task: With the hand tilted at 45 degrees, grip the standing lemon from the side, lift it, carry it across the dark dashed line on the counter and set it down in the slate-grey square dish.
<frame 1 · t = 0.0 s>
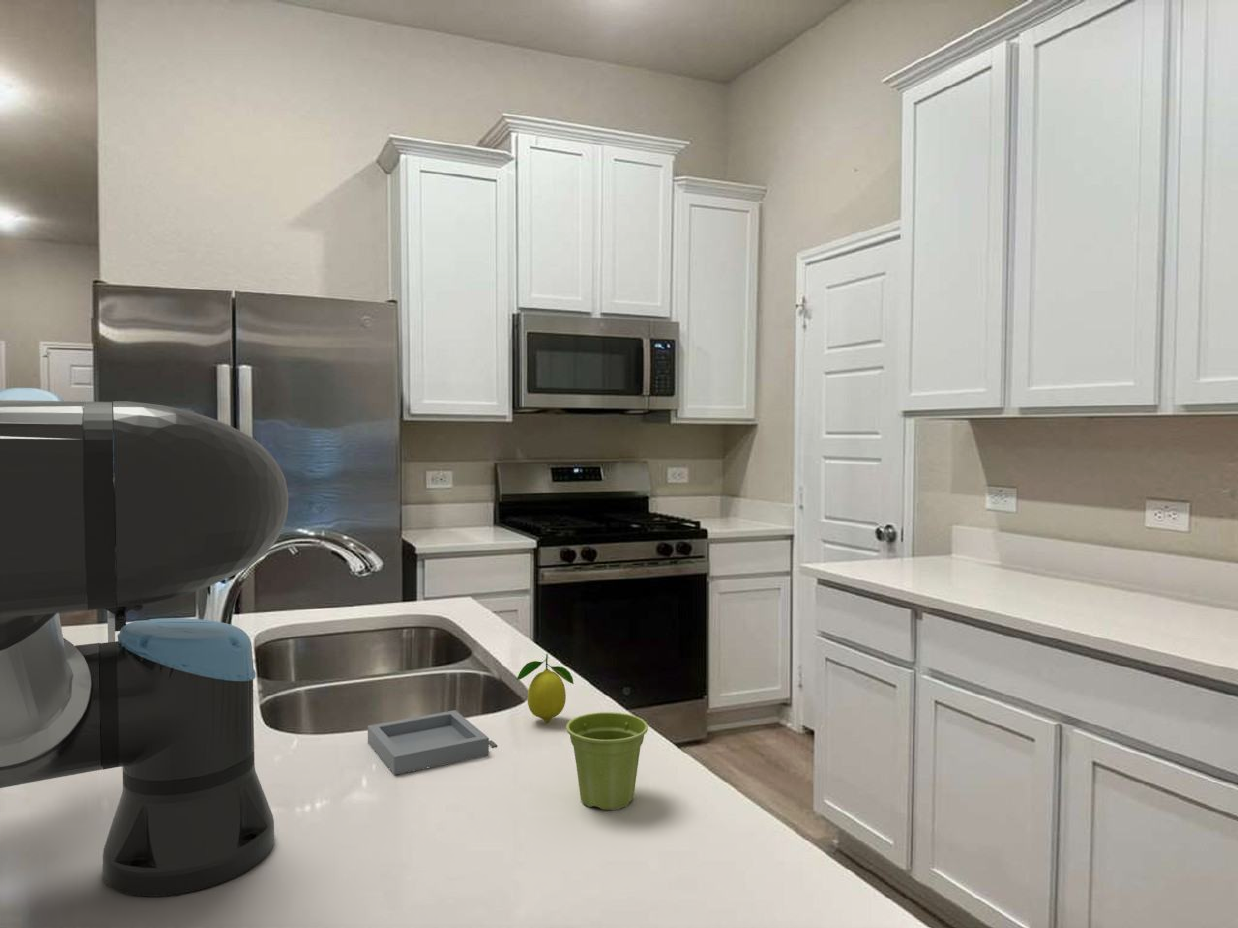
hand: (45, 653, 100), 15 cm above the table, tool tilted 35°, fingers open, 13 cm apart
plant pot: (606, 800, 96), on the table
perforation strip: (482, 736, 116), on the table
lemon: (545, 723, 121), on the table
dish: (427, 748, 111), on the table
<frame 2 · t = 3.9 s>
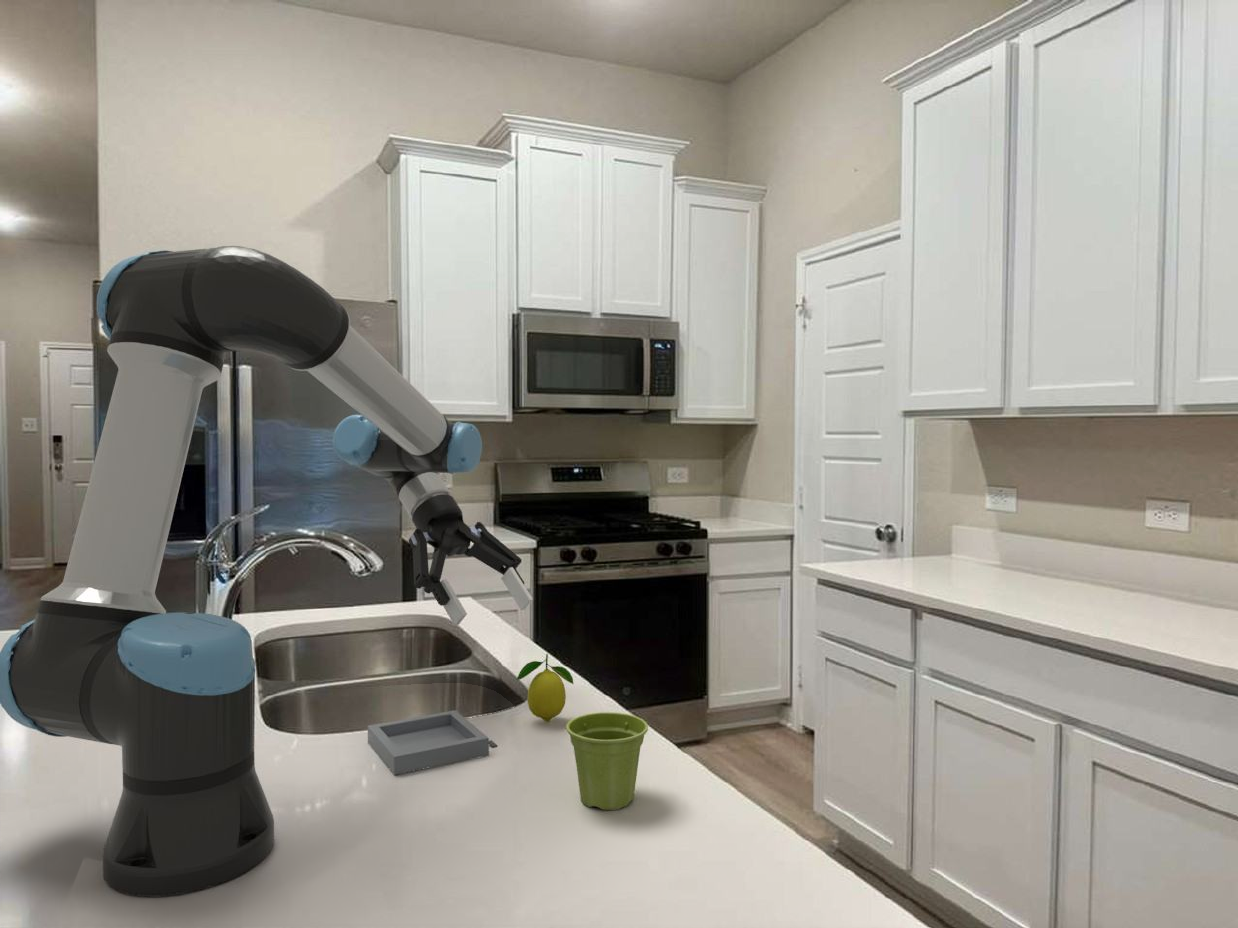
hand: (495, 612, 127), 15 cm above the table, tool tilted 45°, fingers open, 13 cm apart
nothing on the table moved.
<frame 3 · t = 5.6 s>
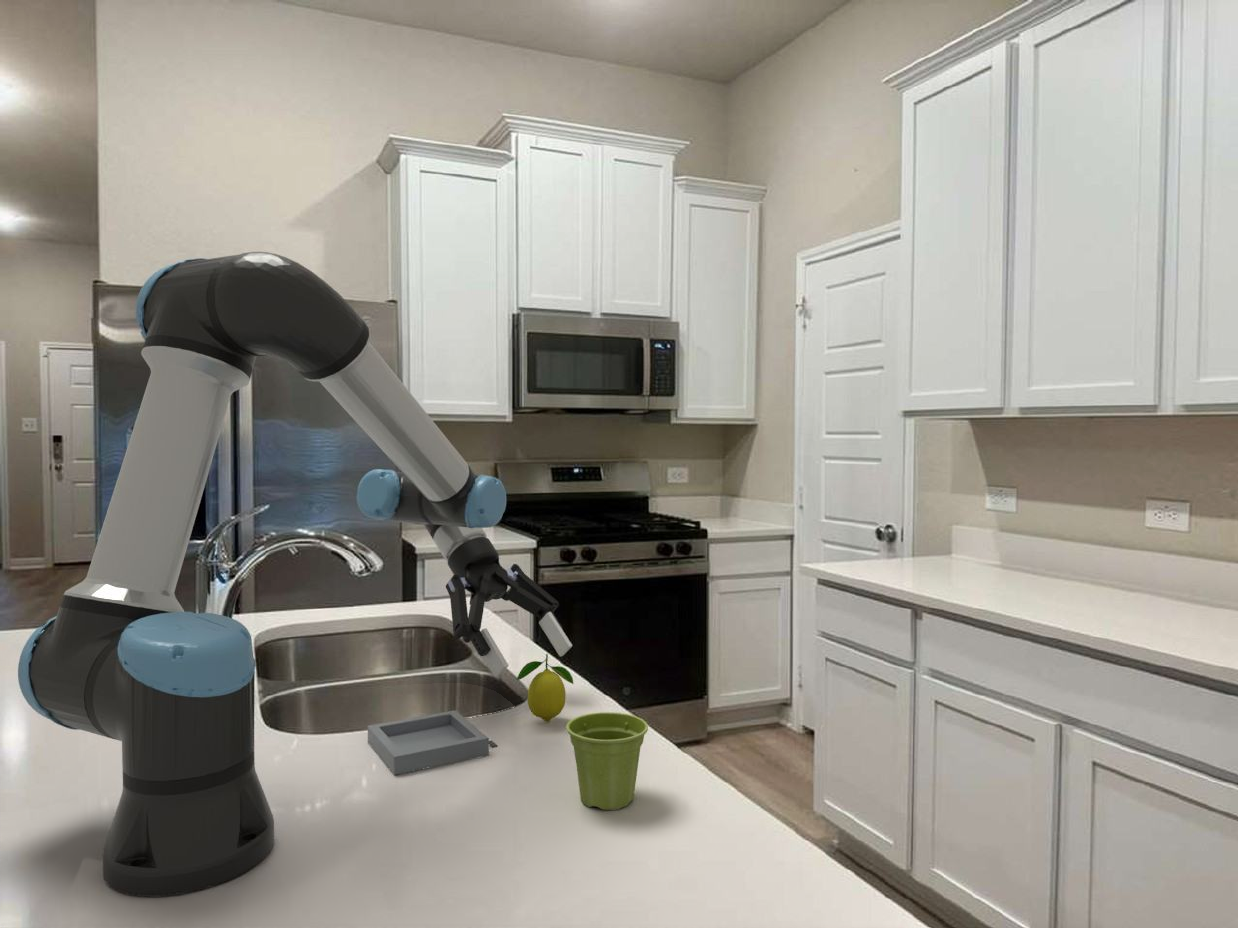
hand: (535, 661, 124), 8 cm above the table, tool tilted 45°, fingers open, 13 cm apart
nothing on the table moved.
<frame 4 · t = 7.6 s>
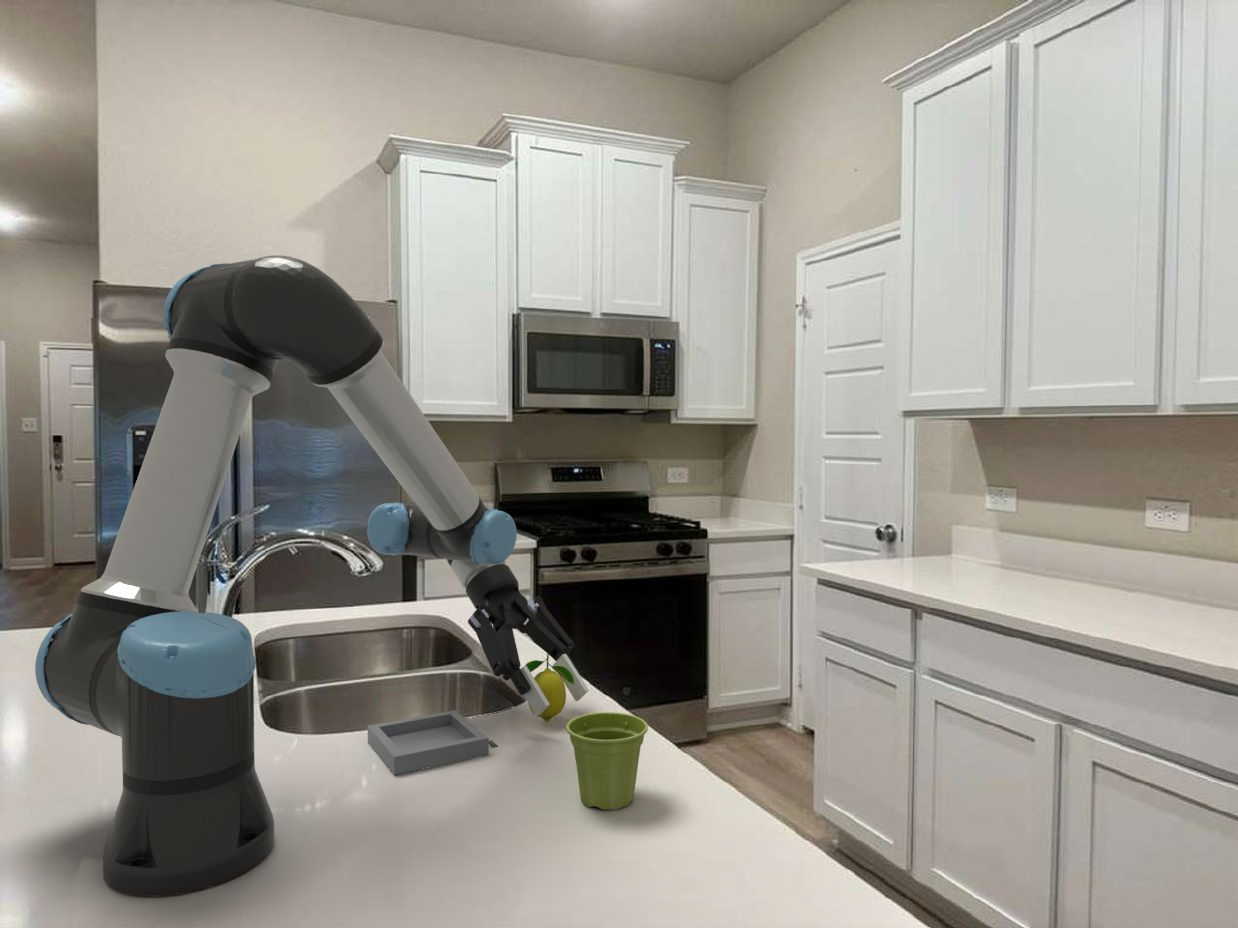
hand: (563, 702, 119), 4 cm above the table, tool tilted 45°, fingers closed on lemon, 8 cm apart
lemon: (545, 723, 121), on the table, touching gripper
everything else where it was.
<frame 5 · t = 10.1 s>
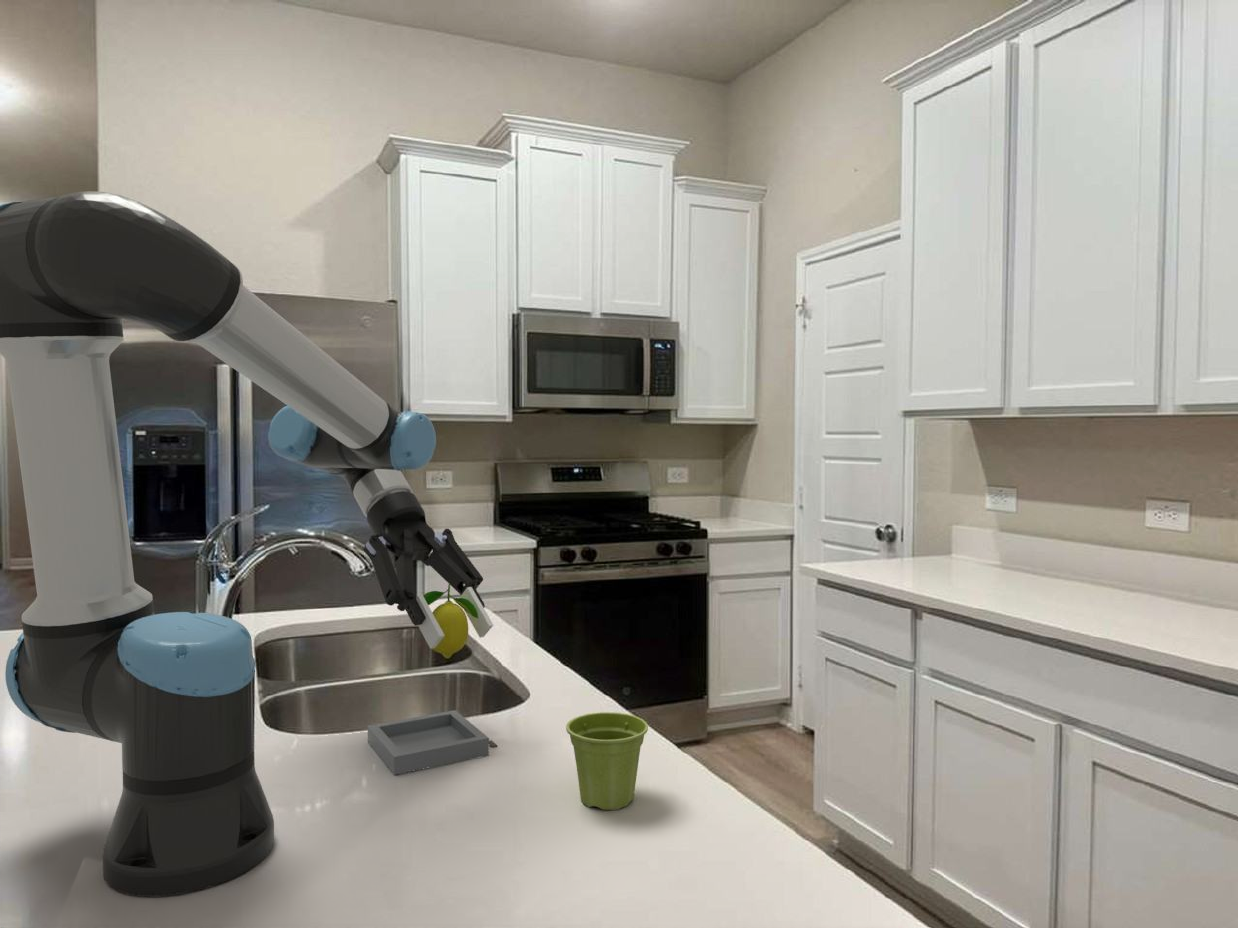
hand: (462, 636, 110), 15 cm above the table, tool tilted 45°, fingers closed on lemon, 8 cm apart
lemon: (445, 659, 112), point 11 cm above the table, touching gripper
everything else where it was.
when the fingers open (5 cm above the table, at t = 12.8 s): lemon stays where it is, resting on dish.
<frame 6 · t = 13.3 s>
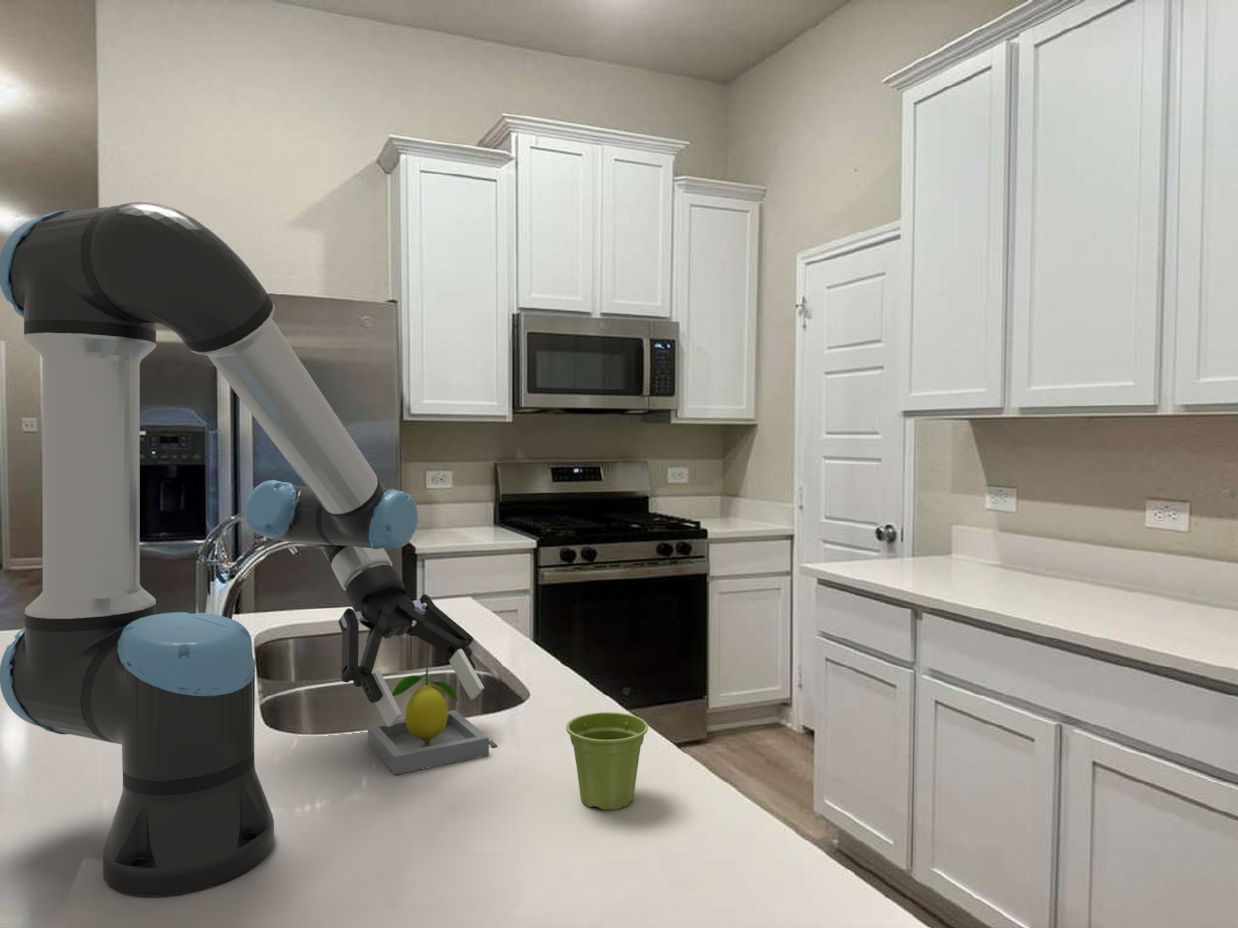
hand: (438, 706, 109), 6 cm above the table, tool tilted 45°, fingers open, 13 cm apart
lemon: (425, 744, 111), point 1 cm above the table, touching dish
everything else where it was.
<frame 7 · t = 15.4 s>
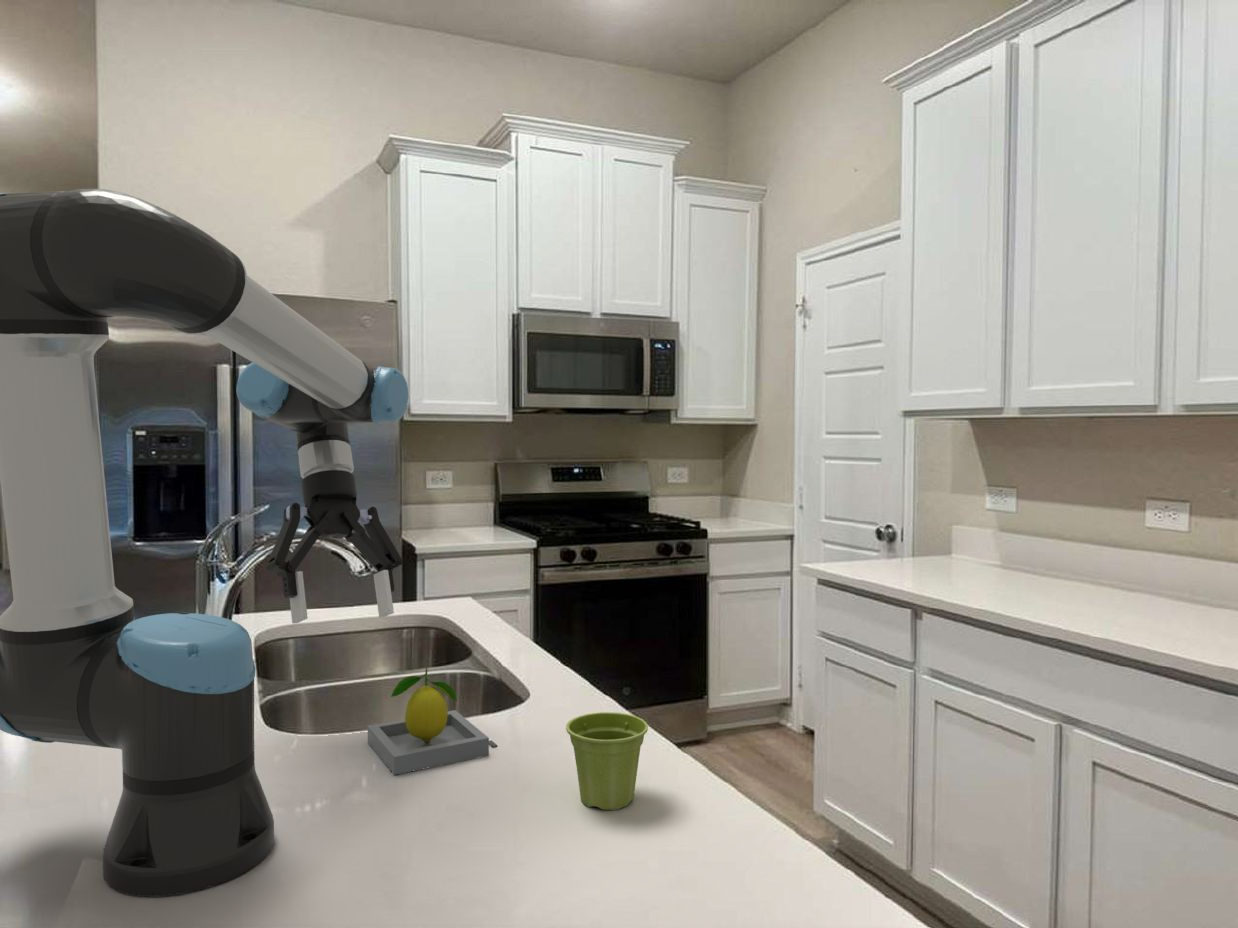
hand: (345, 618, 118), 16 cm above the table, tool tilted 25°, fingers open, 13 cm apart
nothing on the table moved.
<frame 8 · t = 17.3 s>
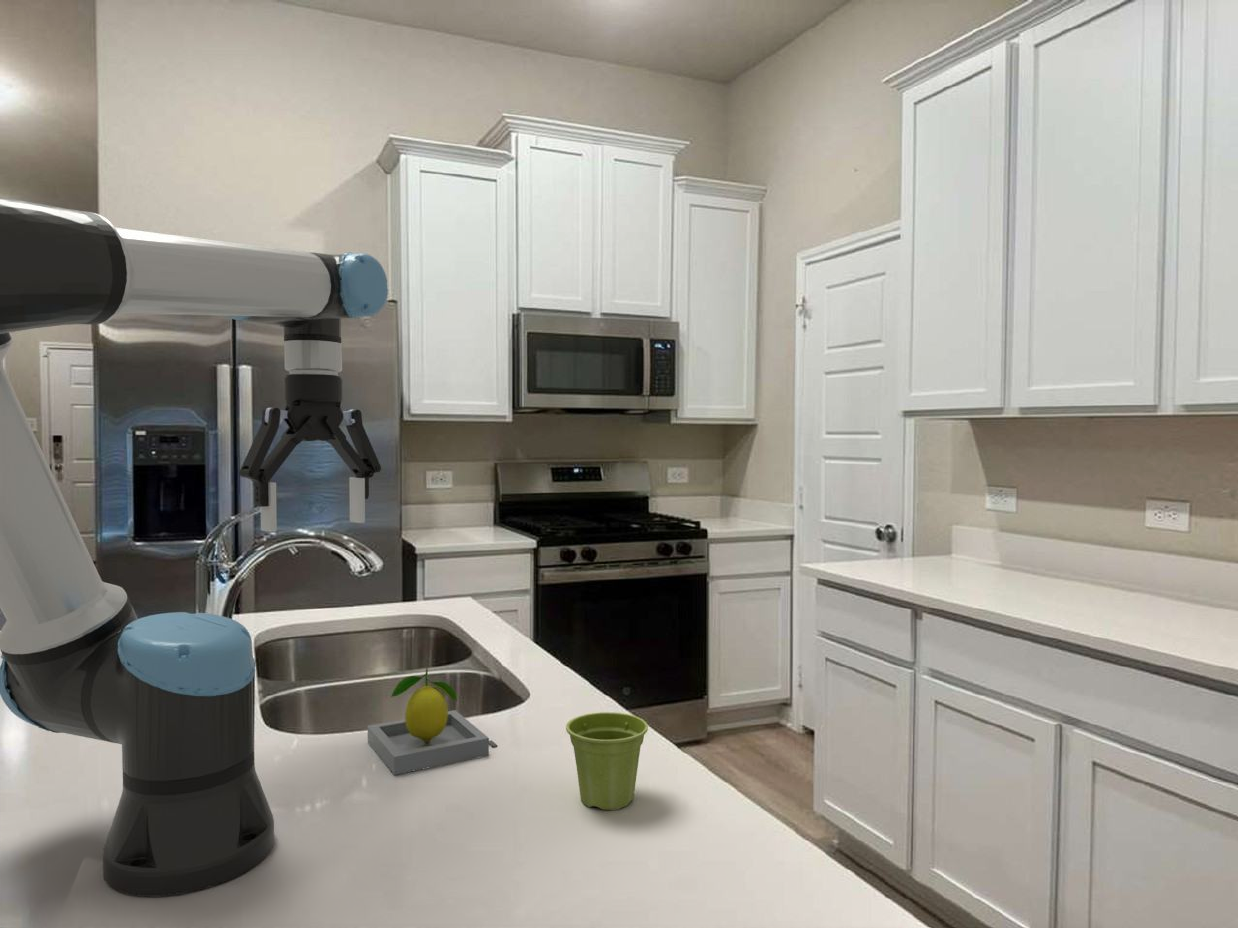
hand: (315, 526, 117), 29 cm above the table, tool pointing down, fingers open, 13 cm apart
nothing on the table moved.
at the end: lemon 0.2 cm from the dish (horizontally); lemon touching dish; the gripper is holding nothing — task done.
